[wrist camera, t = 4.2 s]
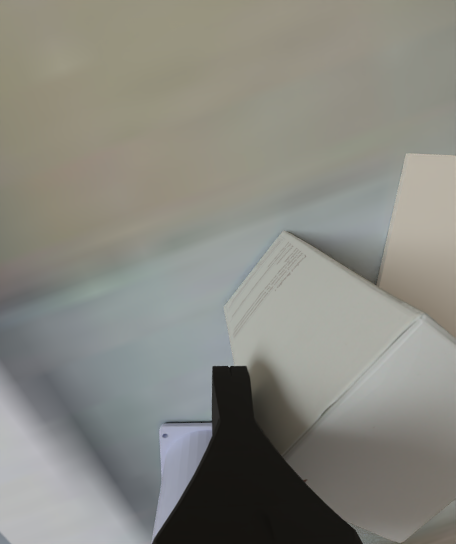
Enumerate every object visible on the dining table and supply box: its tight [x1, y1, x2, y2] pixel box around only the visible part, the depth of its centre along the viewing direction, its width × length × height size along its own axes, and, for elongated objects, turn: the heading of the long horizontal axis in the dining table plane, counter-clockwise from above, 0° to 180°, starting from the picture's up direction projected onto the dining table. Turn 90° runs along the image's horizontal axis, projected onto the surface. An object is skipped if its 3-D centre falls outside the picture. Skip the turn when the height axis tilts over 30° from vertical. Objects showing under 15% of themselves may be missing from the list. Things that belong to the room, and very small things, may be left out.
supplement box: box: [223, 231, 456, 543], centre depth 15 cm, size 7×7×13 cm
